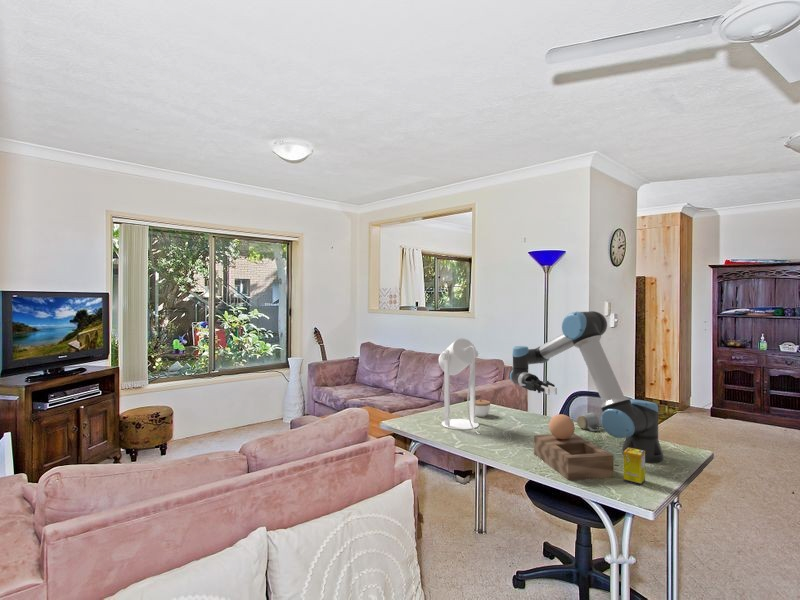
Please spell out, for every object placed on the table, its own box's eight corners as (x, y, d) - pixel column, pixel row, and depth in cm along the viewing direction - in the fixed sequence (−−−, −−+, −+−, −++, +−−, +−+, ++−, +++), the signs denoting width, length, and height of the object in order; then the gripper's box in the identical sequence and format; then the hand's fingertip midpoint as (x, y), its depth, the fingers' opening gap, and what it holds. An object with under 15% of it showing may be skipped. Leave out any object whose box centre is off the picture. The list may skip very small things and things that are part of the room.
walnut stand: (534, 454, 197) (534, 435, 197) (573, 451, 199) (573, 433, 199) (568, 480, 169) (568, 458, 169) (613, 476, 172) (613, 455, 172)
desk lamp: (462, 416, 258) (462, 335, 258) (499, 431, 230) (499, 340, 230) (430, 421, 249) (429, 337, 248) (465, 437, 220) (464, 342, 220)
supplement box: (627, 476, 172) (627, 447, 172) (645, 480, 168) (645, 450, 168) (622, 481, 168) (622, 451, 168) (641, 485, 164) (641, 454, 164)
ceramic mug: (575, 427, 236) (575, 412, 236) (587, 425, 239) (587, 410, 239) (591, 433, 226) (592, 417, 226) (604, 431, 230) (604, 416, 229)
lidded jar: (469, 413, 265) (469, 396, 265) (487, 412, 266) (487, 396, 266) (473, 418, 255) (473, 401, 255) (492, 417, 255) (492, 400, 255)
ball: (574, 436, 194) (574, 412, 194) (574, 443, 185) (574, 418, 185) (549, 434, 198) (549, 410, 198) (548, 441, 189) (548, 416, 189)
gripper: (544, 388, 224) (569, 399, 200) (513, 389, 221) (535, 400, 198) (544, 373, 224) (569, 382, 200) (513, 374, 221) (535, 383, 198)
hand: (552, 391), depth 199 cm, fingers open, 3 cm apart
